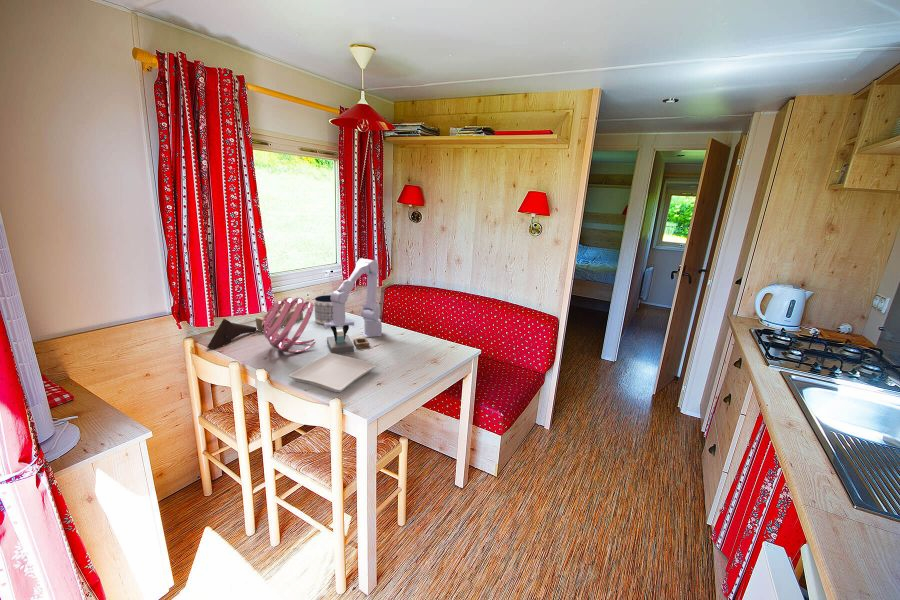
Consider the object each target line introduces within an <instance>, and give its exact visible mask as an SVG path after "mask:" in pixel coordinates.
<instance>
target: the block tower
mask: <svg viewBox="0 0 900 600" xmlns="http://www.w3.org/2000/svg"><path fill="white" fill-rule="evenodd" d="M296 306H297V304H295V306H294V307H293V308H292V309H291V311H290V312H289V314H288V315H287V317H286V318H285V320H284V321H283V323H282V325H281V328H284V327H286V325H287V324H288V322H289V320H290V318H291V317H292V315H293V313H294V311H295V309H296ZM282 310H283V309H280V311H279V312H278V314H277V315H276V317H275V319H274V320H273V322H272V324H271V326H270V328H271V327H272V326H273V325H274V323H275V322H276V320H277V318H278V317H279V315H280V313H281V312H282ZM303 312H304V311H303ZM303 312H302V313H301V314H300V316H299V317H298V319H297V320H296V322H295V323H298V322H300V321H303V319H304V313H303ZM270 314H271V313H270ZM270 314H269V315H270ZM265 315H266V314H265ZM265 315H264V314H263V315H261V316H258V317H255V323H256V330H257V329H258V330H261V331H260V332H262V331H264V329H263V327H262V323H263V319H264V316H265ZM268 317H269V316H268ZM297 321H298V322H297ZM283 326H284V327H283ZM258 330H257V331H258Z"/></svg>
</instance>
